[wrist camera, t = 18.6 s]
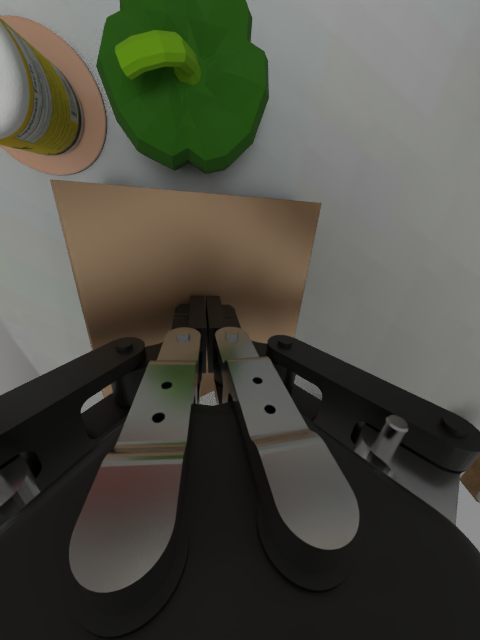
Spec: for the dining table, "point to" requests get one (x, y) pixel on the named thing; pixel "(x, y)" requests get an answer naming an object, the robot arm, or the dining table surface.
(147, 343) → the tan flat square panel
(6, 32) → the supplement bottle
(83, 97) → the coaster
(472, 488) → the coffee cup
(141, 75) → the bell pepper
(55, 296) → the dining table surface
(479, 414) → the dining table surface
